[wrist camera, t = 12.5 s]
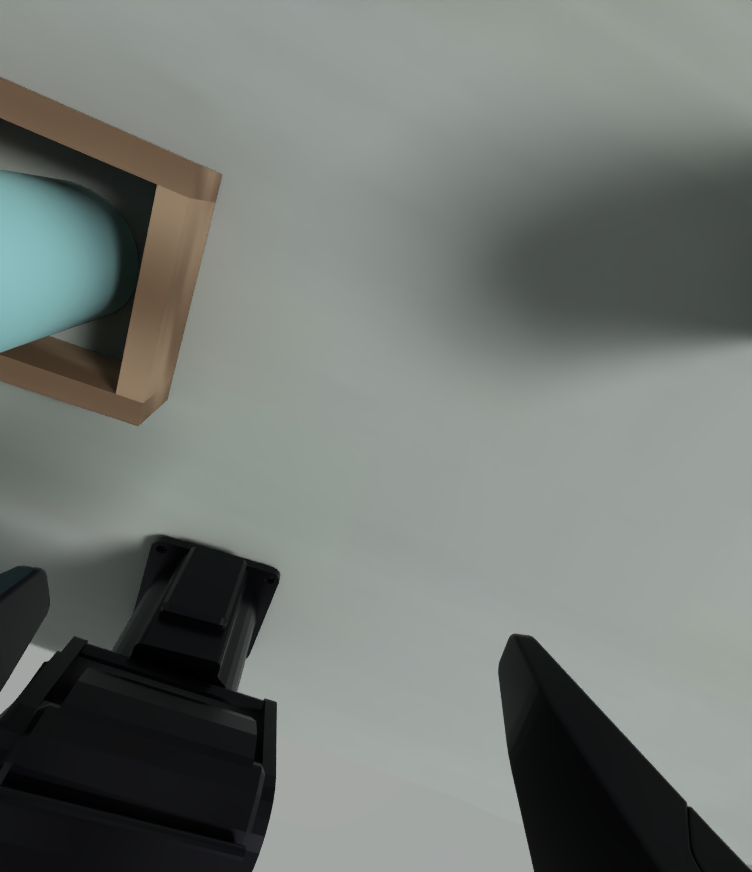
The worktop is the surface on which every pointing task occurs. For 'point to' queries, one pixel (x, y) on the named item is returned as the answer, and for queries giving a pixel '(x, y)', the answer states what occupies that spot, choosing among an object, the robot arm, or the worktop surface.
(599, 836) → the robot arm
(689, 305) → the worktop surface
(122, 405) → the collar
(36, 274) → the peg
